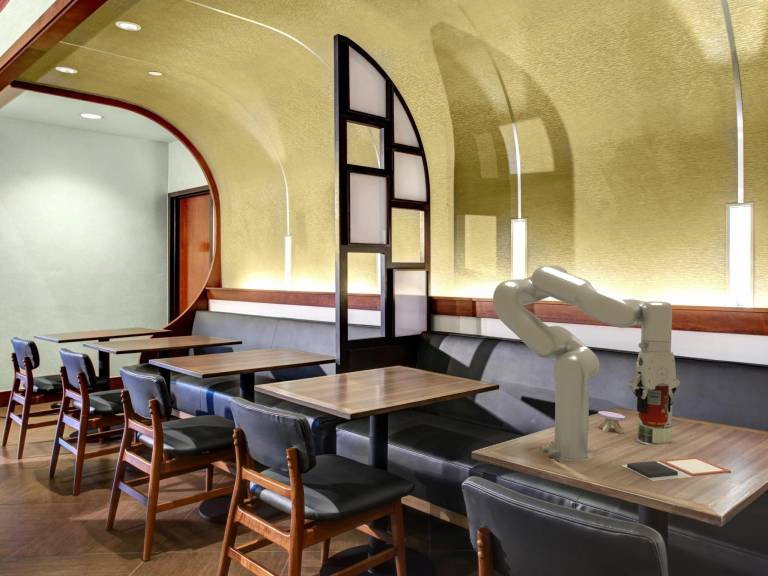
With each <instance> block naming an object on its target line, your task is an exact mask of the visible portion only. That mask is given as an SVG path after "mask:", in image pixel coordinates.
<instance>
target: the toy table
mask: <svg viewBox="0 0 768 576" xmlns="http://www.w3.org/2000/svg"><path fill="white" fill-rule="evenodd" d="M597 415H598V416H599V417H601V418H603V419H604V421H603V422H601V423H600V424H599V428H600V429H602V433H607V431H610V428H611V426H613V428H614V430H615V429H616V430H615V432H616V433H618V432H619V434H624V433H625V430H624V429H623V427H622V426H621V425H620V422H619V421H621V422H622V421H625V420H626V416H625V415H623V414H621V413H617V412H613V411H612V412H611V411H607V410H606V411H604V410H599V411H598V412H597Z"/></svg>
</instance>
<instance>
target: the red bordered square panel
mask: <svg viewBox="0 0 768 576" xmlns="http://www.w3.org/2000/svg"><path fill="white" fill-rule="evenodd" d="M659 462H661V463H663V464H666V465H668V466H670V467H672V468H675V469H677V470H679V471H681V472H684V473H686V474H688V475H691V476H697V477H702V476H701V475H706V476H712V475H711V474H716V475H722V474H721V473H726V474H729V473H732V470H730V469H727V468H725V467H724V466H723V467H722V466H720V465H717V464H715V463H713V462H710V461H708V460H704V459H702V458H700V457H697V456H691V457H690V456H689V457H680V458H679V457H678V458H677V457H676V458H667V459H659Z"/></svg>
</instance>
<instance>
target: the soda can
mask: <svg viewBox="0 0 768 576" xmlns="http://www.w3.org/2000/svg"><path fill="white" fill-rule="evenodd" d="M642 386H643V384H642ZM643 390H644V389H642V392H643ZM645 399H647V413H646V414H644V413H641V412H640V419H641V421H642V424H643V425H644V426H647V427H653V428H663V427H665V424H666V422H667V421H668V399H669V385H668V384H664V383H661V384H658V385H656V386H655V389H654V390H648V393H647V396H646V398H645Z"/></svg>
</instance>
